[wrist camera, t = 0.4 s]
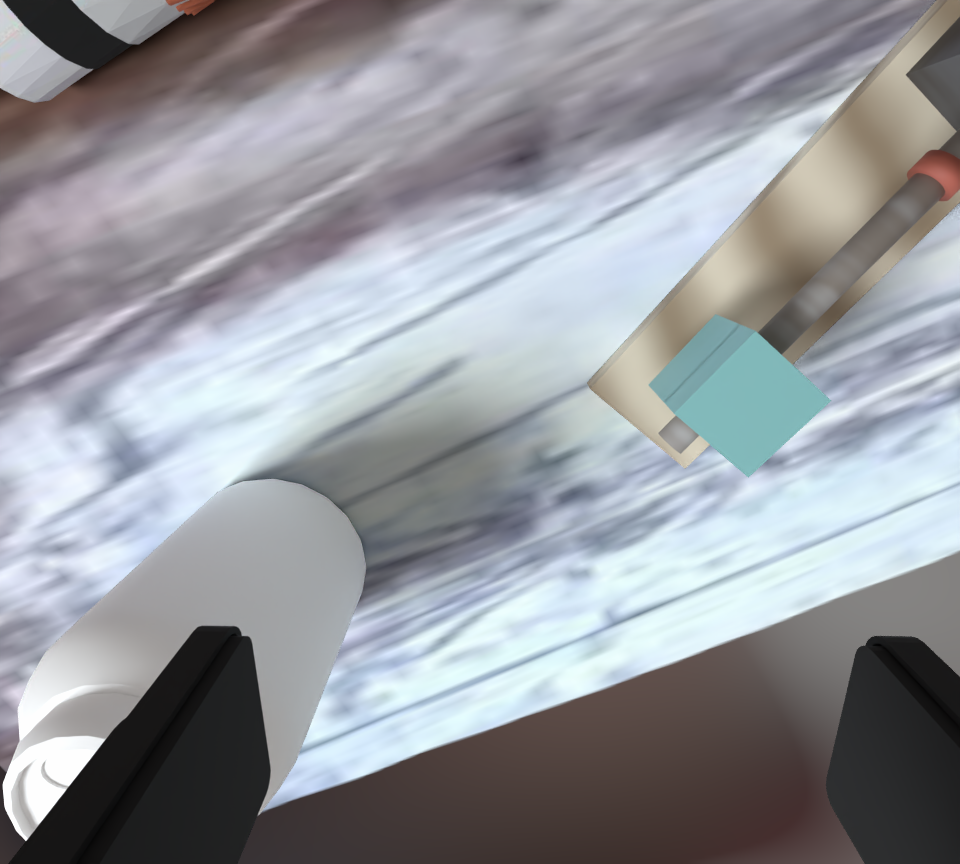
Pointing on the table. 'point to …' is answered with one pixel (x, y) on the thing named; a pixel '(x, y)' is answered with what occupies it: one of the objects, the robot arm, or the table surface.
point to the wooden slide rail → (814, 227)
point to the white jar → (178, 612)
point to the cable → (73, 38)
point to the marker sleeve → (738, 393)
